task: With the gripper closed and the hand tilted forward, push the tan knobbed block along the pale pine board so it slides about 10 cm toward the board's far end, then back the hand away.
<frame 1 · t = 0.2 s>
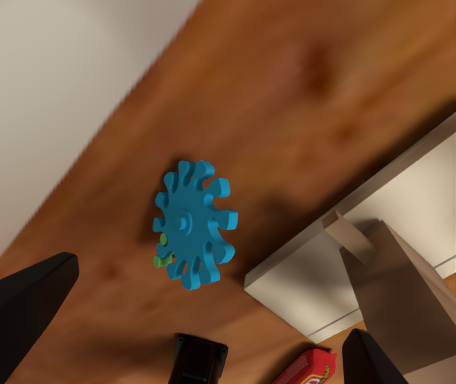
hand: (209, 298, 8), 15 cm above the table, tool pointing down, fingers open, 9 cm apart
tan knobbed block: (402, 302, 16), point 8 cm above the table, slide at 0.0 cm
gear: (198, 203, 25), on the table
candy bar: (291, 373, 34), on the table
pine board: (374, 240, 23), on the table
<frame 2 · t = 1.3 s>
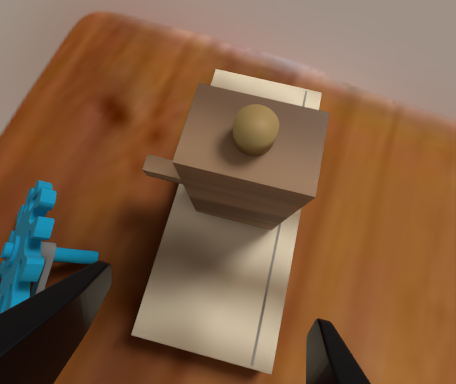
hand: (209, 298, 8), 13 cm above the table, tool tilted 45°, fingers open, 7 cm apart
tan knobbed block: (220, 166, 16), point 8 cm above the table, slide at 0.0 cm
gear: (56, 261, 22), on the table
pine board: (237, 203, 23), on the table
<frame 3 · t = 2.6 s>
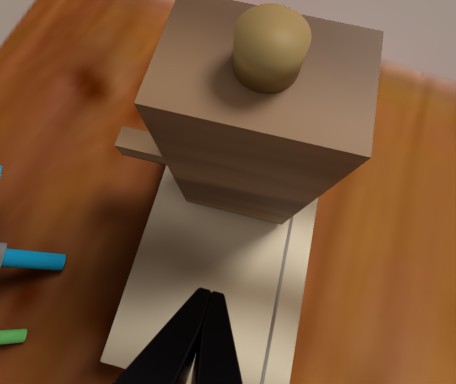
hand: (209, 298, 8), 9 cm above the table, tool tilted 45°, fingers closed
tan knobbed block: (215, 134, 11), point 8 cm above the table, slide at 0.0 cm
gear: (13, 265, 17), on the table
pine board: (238, 192, 19), on the table
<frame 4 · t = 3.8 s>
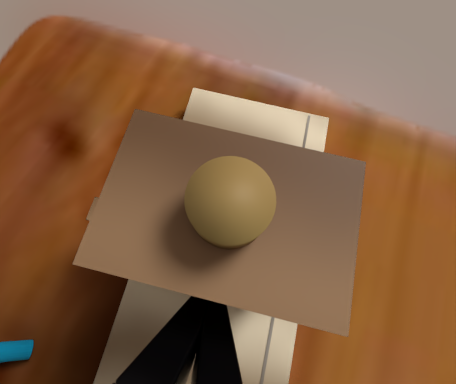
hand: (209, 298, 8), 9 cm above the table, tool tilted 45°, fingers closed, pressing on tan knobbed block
tan knobbed block: (189, 225, 10), point 8 cm above the table, slide at 0.9 cm, touching gripper
pine board: (221, 263, 18), on the table
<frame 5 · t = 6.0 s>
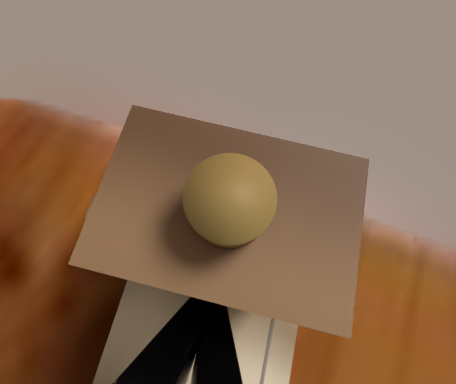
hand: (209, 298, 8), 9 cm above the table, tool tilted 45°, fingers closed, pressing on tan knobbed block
tan knobbed block: (189, 224, 10), point 8 cm above the table, slide at 10.2 cm, touching gripper
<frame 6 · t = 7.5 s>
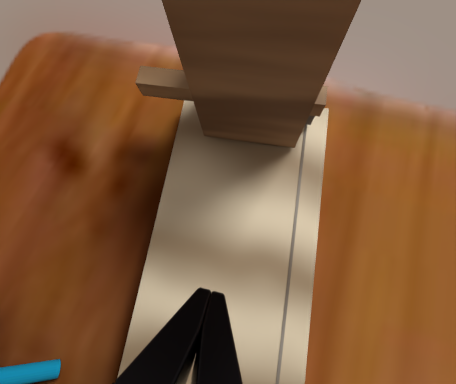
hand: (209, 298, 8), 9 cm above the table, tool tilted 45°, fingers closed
tan knobbed block: (226, 49, 13), point 8 cm above the table, slide at 10.2 cm
gear: (11, 367, 17), on the table
pine board: (229, 268, 18), on the table
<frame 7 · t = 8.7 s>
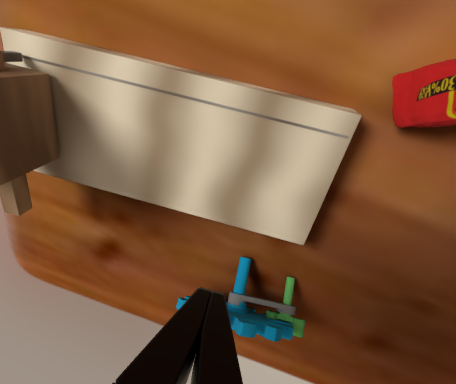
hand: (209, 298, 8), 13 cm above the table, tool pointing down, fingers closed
gear: (246, 281, 26), on the table
pine board: (176, 138, 20), on the table
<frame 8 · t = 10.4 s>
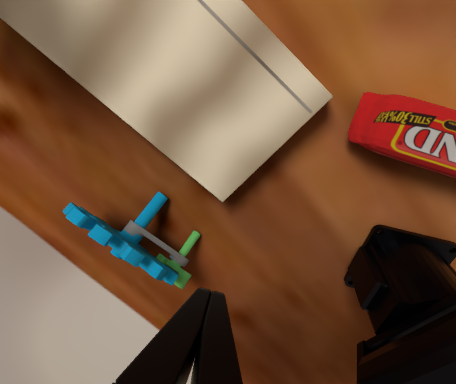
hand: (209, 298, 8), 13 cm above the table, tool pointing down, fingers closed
gear: (151, 220, 24), on the table
pine board: (142, 26, 17), on the table
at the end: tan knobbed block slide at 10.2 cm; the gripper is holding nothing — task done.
